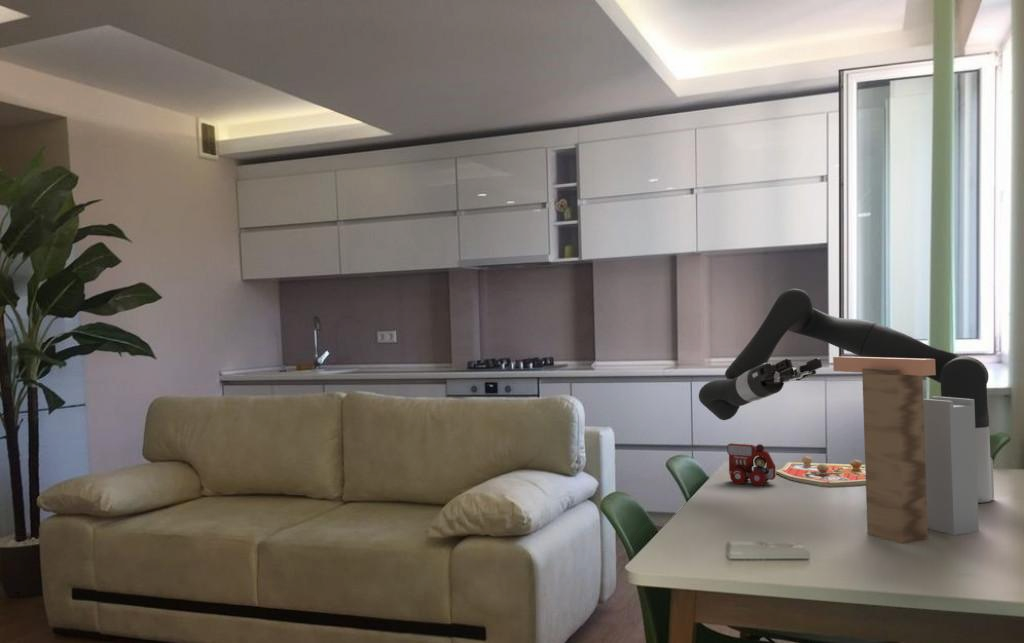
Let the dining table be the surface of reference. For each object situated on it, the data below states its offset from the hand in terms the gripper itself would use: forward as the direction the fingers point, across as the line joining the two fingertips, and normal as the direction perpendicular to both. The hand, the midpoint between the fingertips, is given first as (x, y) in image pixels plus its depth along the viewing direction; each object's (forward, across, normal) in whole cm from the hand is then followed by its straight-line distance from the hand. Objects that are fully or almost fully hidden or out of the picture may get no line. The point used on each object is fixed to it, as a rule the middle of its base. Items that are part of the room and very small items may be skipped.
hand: (805, 362), depth 173 cm
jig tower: (+10, +2, +39) cm, 40 cm away
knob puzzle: (-38, +36, +22) cm, 56 cm away
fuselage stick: (+19, 0, +8) cm, 20 cm away
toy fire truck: (-42, +12, +21) cm, 48 cm away
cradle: (+10, +15, +39) cm, 43 cm away
